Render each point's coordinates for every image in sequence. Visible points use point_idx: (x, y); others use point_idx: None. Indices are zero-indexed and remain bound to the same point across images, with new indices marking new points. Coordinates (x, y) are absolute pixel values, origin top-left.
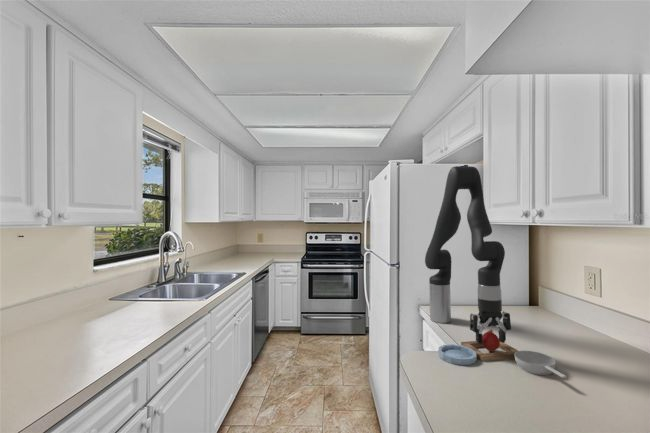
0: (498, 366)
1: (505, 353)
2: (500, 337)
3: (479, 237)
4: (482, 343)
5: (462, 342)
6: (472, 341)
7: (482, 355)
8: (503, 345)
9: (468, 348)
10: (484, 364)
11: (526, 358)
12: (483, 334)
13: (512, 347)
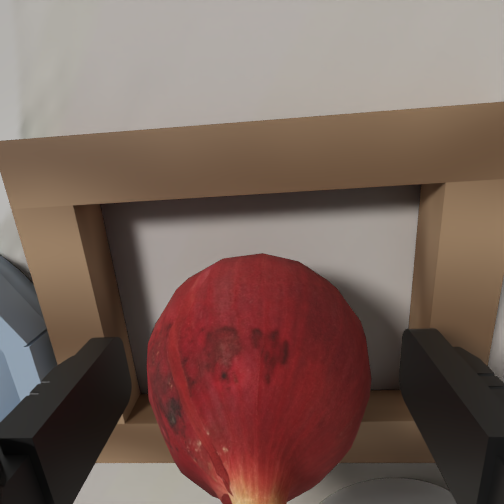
0: (177, 495)
1: None
2: (425, 388)
3: None
4: (126, 401)
5: (4, 159)
6: (139, 139)
7: None
8: (436, 294)
9: (7, 349)
10: (100, 465)
11: (432, 493)
12: (171, 362)
13: (488, 352)
